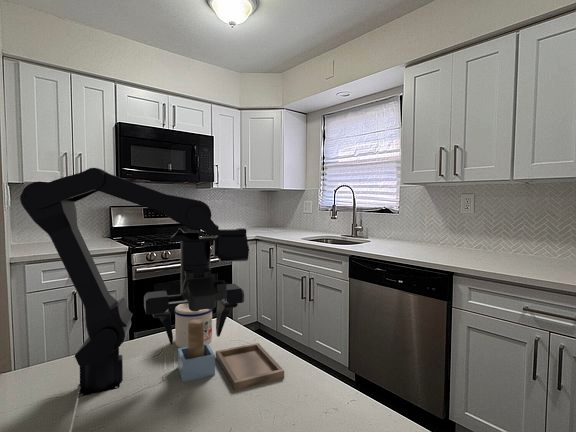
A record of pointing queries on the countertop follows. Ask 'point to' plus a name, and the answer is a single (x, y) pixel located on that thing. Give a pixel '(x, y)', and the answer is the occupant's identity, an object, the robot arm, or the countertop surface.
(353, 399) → the countertop surface
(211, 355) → the holder cup
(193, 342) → the dowel pin
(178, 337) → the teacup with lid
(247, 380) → the tray
